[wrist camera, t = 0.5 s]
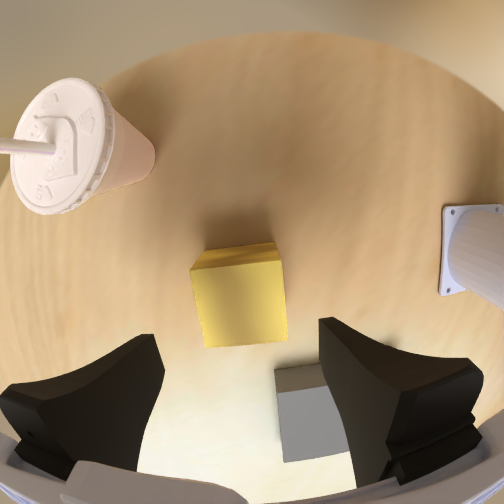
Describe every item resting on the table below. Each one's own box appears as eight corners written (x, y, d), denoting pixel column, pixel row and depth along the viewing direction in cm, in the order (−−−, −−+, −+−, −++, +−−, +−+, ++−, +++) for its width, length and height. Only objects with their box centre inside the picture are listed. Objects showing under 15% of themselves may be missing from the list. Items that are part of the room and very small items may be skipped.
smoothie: (136, 219, 19) (-17, 274, 5) (84, 168, 18) (-64, 168, 4) (191, 151, 18) (67, 85, 4) (133, 102, 17) (2, 27, 3)
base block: (390, 345, 22) (406, 366, 19) (375, 420, 24) (384, 440, 21) (273, 367, 22) (276, 393, 19) (281, 439, 25) (283, 462, 21)
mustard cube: (274, 241, 19) (281, 259, 15) (280, 306, 21) (288, 340, 16) (204, 250, 20) (189, 270, 15) (215, 313, 21) (206, 347, 16)
